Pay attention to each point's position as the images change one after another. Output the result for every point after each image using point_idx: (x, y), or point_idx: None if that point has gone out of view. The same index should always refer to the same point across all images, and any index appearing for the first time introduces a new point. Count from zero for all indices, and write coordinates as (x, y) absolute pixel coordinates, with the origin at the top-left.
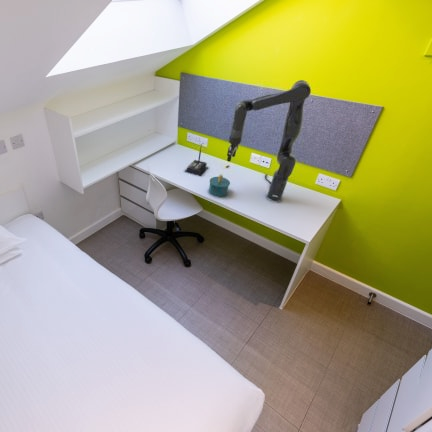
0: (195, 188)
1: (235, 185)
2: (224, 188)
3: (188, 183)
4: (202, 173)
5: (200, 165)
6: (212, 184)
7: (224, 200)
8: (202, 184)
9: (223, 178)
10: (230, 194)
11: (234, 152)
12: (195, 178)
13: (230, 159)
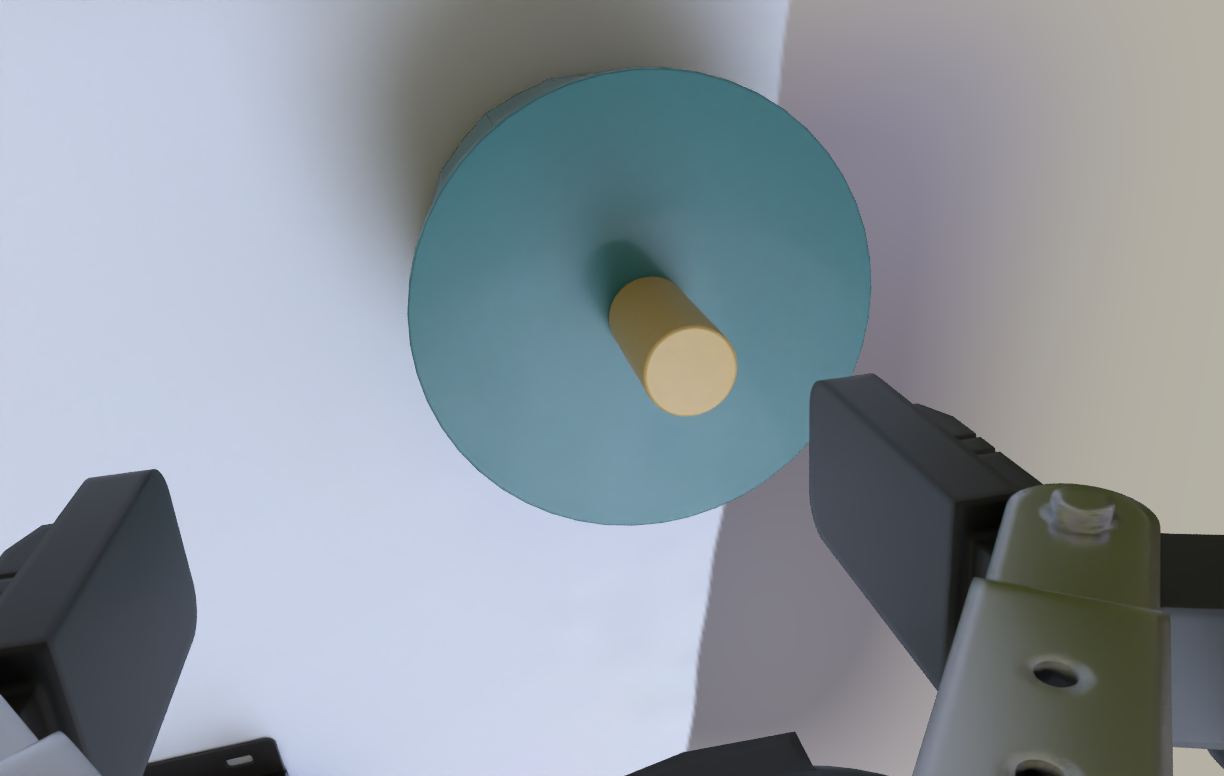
0: (703, 585)
1: (69, 88)
2: None
3: (636, 733)
4: (176, 771)
5: None
6: (848, 376)
7: (761, 21)
8: (516, 576)
9: (454, 320)
10: (491, 18)
11: (93, 671)
12: (419, 751)
13: (922, 420)
